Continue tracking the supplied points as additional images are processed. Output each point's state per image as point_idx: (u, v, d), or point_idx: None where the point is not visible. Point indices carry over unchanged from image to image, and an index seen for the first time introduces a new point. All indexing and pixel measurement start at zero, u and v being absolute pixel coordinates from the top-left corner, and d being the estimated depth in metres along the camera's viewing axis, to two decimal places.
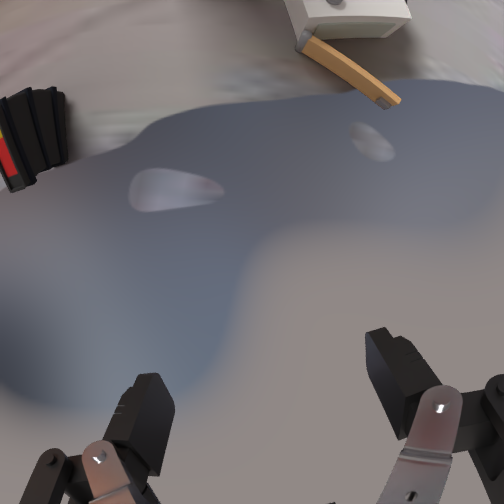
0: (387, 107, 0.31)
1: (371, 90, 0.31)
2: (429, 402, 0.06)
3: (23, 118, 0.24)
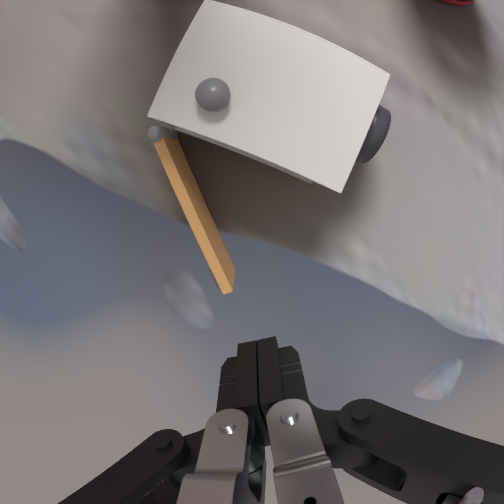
0: (217, 283, 0.25)
1: None
2: (276, 413, 0.07)
3: None
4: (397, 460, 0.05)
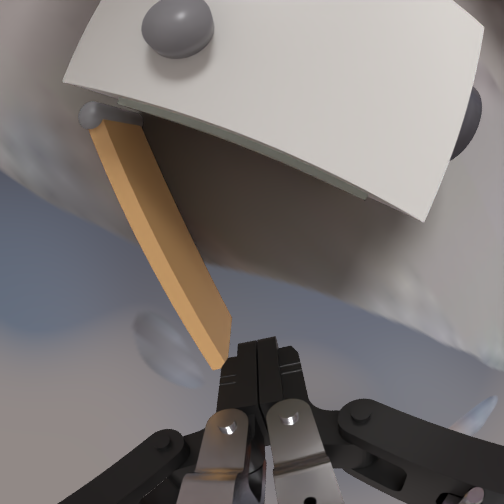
0: None
1: None
2: (276, 413, 0.07)
3: None
4: (397, 460, 0.05)
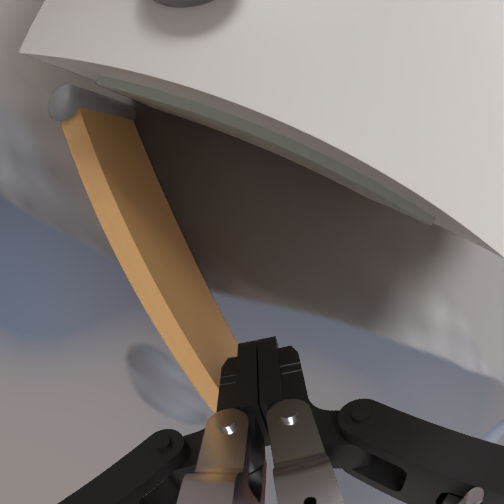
0: None
1: None
2: (276, 413, 0.07)
3: None
4: (397, 460, 0.05)
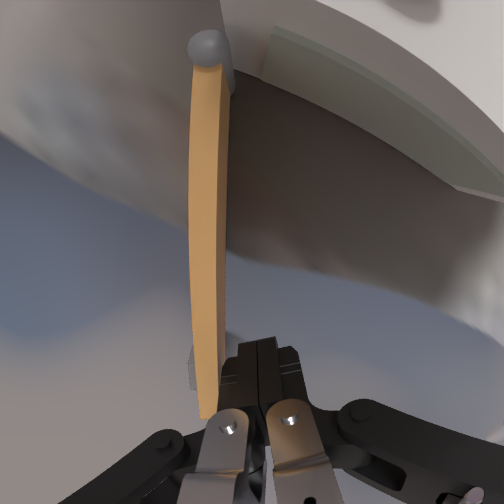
0: None
1: None
2: (276, 413, 0.07)
3: None
4: (397, 460, 0.05)
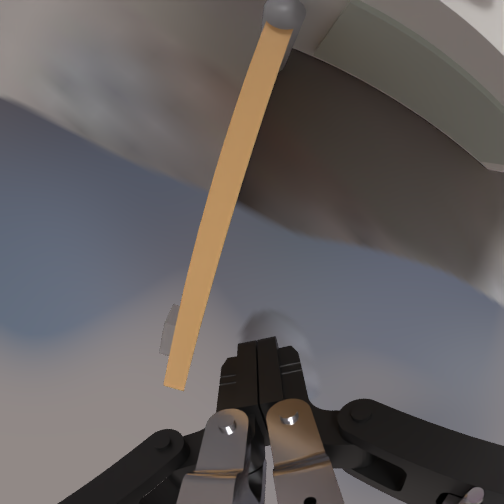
0: None
1: None
2: (276, 413, 0.07)
3: None
4: (397, 460, 0.05)
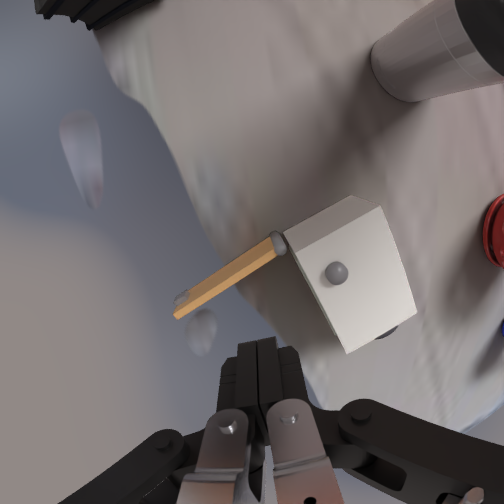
0: (175, 300, 0.33)
1: (198, 291, 0.33)
2: (276, 412, 0.07)
3: None
4: (397, 460, 0.05)
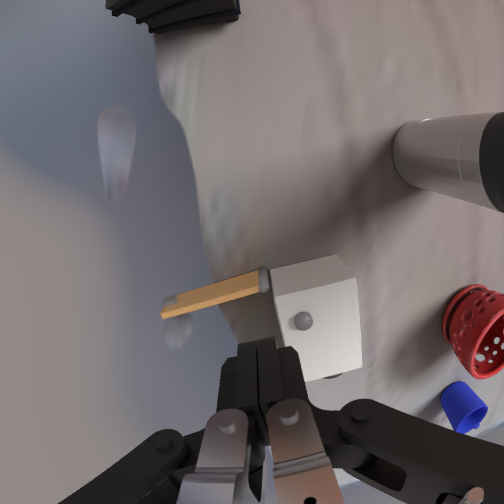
0: (164, 302, 0.37)
1: (185, 299, 0.38)
2: (276, 412, 0.07)
3: None
4: (397, 460, 0.05)
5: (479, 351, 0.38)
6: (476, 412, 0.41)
